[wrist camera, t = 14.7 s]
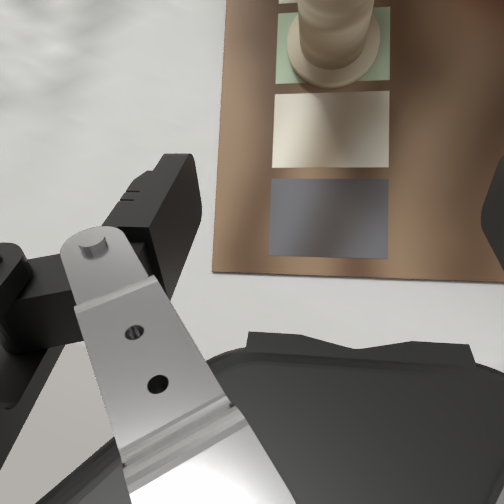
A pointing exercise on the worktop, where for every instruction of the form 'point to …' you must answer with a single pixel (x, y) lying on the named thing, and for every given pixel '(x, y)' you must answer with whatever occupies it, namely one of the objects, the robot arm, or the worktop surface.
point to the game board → (362, 147)
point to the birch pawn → (333, 41)
